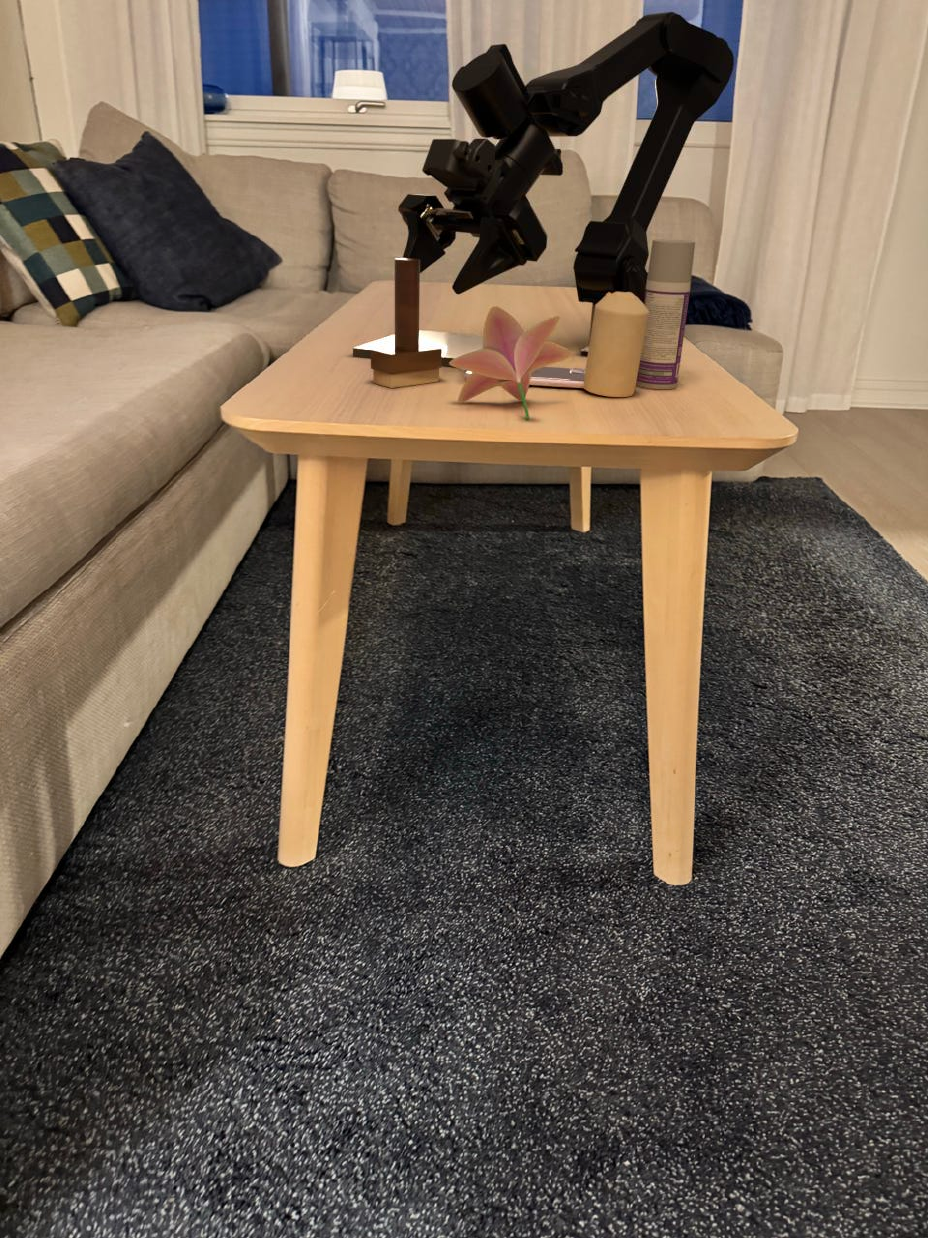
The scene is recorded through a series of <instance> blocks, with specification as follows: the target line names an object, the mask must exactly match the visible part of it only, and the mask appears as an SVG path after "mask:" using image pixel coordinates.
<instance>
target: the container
mask: <svg viewBox="0 0 928 1238" xmlns="http://www.w3.org/2000/svg"><path fill="white" fill-rule="evenodd" d="M650 248H651V249H650V254H649V264H648V270H647V273H648V276H647V283H646V290H645V299H644V305H645V306H646V308H647V309H648V311H649V314H648V319H647V325H646V331H645V336H644V342H643V347H642V353H641V358H640V364H639V369H638V375H637V381H636V386H637V387H640V388H644V389H649V390H650V389H651V390H673V389H676V388H677V387H678V381H679V374H680V367H681V360H682V353H683V344H684V337H685V330H686V322H687V315H688V308H689V300H690V293H691V285H692V284H691V283H692V276H693V265H694V258H695V249H696V242H695V241H693V240H683V239H662V238H660V239H659V238H657V239H652V241H651V247H650Z"/></svg>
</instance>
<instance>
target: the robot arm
mask: <svg viewBox="0 0 928 1238" xmlns="http://www.w3.org/2000/svg"><path fill="white" fill-rule="evenodd" d="M734 66H735V56H734V53H733V50H732V49H731V48H730V47H729V44H728V42H727V41H726V40H725V38H723V37H721V36H717V35H716V34H715V33H713V32H711V31H708V30H707V29H705V28H702V27H699V26H697V25H695V24H693V23H690V22H689V21H688V20H687V19H686V18H684V17H683V15H681V14H678V13H676V12H674V11H667V12H666V11H665V12H658V13H650V14H649V13H647V14H645V15H643V16H642V17H641V18H638V19H637V21H636V22H635V24H634V25H632V26H631V27H630V28H628V29H627V30H625V31H624V32H622V33H621V34H620V35H618V36H616V37H615V38H614V39H613V40H611V41H609V42H608V43H607V44H606V45H603V47H601V48H600V49H598V50H597V51H595V52H594V53H593V54H591V55H590V56H588V57H587V58H585V59H584V60H583V61H580V62H579V63H578V64H576V65H573V66H570V67H566V68H562V69H559V70H554V71H551V72H549V73H545V74H542V75H540V76H537V77H535V78H533V79H531V80H529V81H528V82H527V84H525V83H524V81H523V79H522V77H521V75H520V72H519V71H518V68H517V67H516V65H515V62H514V59H513V56H512V54H511V52H510V50H509V47H508V46H507V44H505V43H498V44H491V45H490V46H489V48H487V50H486V51H485V52H483V53H482V54H479V55H478V56H476V57H474V58H473V59H471V60H470V61H469V62H468V63H467V64H465V65H463V66H461V67H460V68H459V69H458V70H457V71H456V73H455V74H454V76H453V79H452V81H451V87H452V90H453V91H454V93H455V95H456V97H457V98H458V100H459V102H460V103H461V105H462V107H463V109H464V110H465V112H466V115H467V116H468V117H469V120H470V122H471V123H472V125H473V126H474V128H475V130H476V131H477V133H478V135H479V136H480V137H481V138H473V139H472V141H471V142H469V141H467V140H459V139H456V138H433V139H432V140H431V143H430V146H429V148H428V152H427V155H426V158H425V160H424V162H423V166H422V169H421V171H422V173H423V174H424V175H426V176H427V177H432V178H433V179H435V180H436V181H437V182H439V183H440V184H441V185H442V186H444V187H445V188H446V189H445V191H444V192H443V194H444V196H445V198H446V199H447V201H448V202H449V203H452V205H453V207H452V208H445V207H444V206H443V204H442V202H441V201H440V199H439V198H438V196H437V195H434V194H417V193H416V194H415V193H408V194H406V196H405V197H404V198H403V200H402V201H401V202H400V204H399V205H398V209H397V210H398V213H399V214H400V215H401V217H402V221H403V222H404V224H405V225H406V226H407V232H408V233H407V239H406V244H405V248H404V251H403V255H402V258H414V259H420V274H422V273H423V272H424V271H426V270H427V269H428V268H429V267H431V266H432V265H433V264H435V263H436V262H438V261H439V260H440V259H441V258H443V257H444V256H445V255H446V253H447V252H446V251H445V250H446V249H447V248H449V247H451V245H453V243H454V241H455V240H456V238H457V233H464V234H470V235H471V237H473V238H478V241H477V243H476V244H475V247H474V248H473V249H472V251H471V253H470V254H469V255H468V257H467V259H466V260H465V262H464V264H463V266H462V267H461V269H460V271H459V272H458V274H457V276H456V278H455V280H454V282H453V284H452V286H451V289H452V290H453V292H454V293H455V294H456V295H462V294H463V293H465V292H467V291H469V290H471V289H473V288H476V287H477V286H479V285H481V284H483V283H485V282H486V281H487V282H488V280H491V279H493V278H494V277H497V276H500V275H501V274H504V273H506V272H508V271H510V270H512V269H515V268H517V267H519V266H520V267H522V266H525V265H526V264H527V263H528V262H536V263H537V262H538V260H539V259H540V258H541V256H542V255H543V253H545V251H546V250H547V247H548V246H547V245H548V233H547V232H546V230H545V227H544V226H543V224H542V222H541V221H540V219H539V217H538V215H537V214H536V212H535V211H534V209H533V207H532V205H531V203H530V201H529V198H528V197H527V195H528V193H529V192H530V190H531V189H532V188H533V186H534V185H535V183H536V182H537V180H538V179H539V178H540V176H548V177H549V176H552V177H555V176H556V177H561V176H562V175H563V173H564V164H563V161H562V149H561V148H556V147H555V145H554V143H553V141H552V139H551V137H552V138H553V137H554V138H560V137H566V138H567V137H569V138H571V137H573V138H574V137H579V136H580V135H583V134H584V133H585V132H586V131H587V129H588V128H589V127H590V126H591V125H592V124H593V123H594V122H595V121H596V120H597V118H598V117H599V116H600V115H601V112H602V110H603V105H604V102H606V100H607V99H608V98H609V97H610V96H612V95H613V94H615V93H616V92H617V91H618V90H620V89H621V88H623V87H624V86H625V85H627V84H628V83H629V82H631V81H632V80H634V79H635V78H636V77H637V76H640V74H642V73H643V72H645V71H646V70H648V71H649V72H650V73H651V74H652V75H654V76H655V77H656V78H655V81H654V87H655V95H656V102H657V105H656V109H655V111H654V113H653V116H652V119H651V120H650V123H649V124H648V127H647V128H646V129H647V130H646V132H645V134H644V136H643V139H642V141H641V143H640V145H639V147H638V150H637V152H636V154H635V157H634V159H633V161H632V164H631V166H630V168H629V170H628V173H627V175H626V178H625V179H624V182H623V184H622V187H621V189H620V191H619V193H618V196H617V198H616V201H615V203H614V205H613V207H612V210H611V212H610V214H609V215H608V216H607V217H606V218H604V219H603V221H599V220H590V221H589V222H588V223H587V224H586V226H585V228H584V232H583V234H582V237H581V240H580V242H579V244H578V245H577V246H576V248H575V249H574V252H575V253H576V256H575V257H574V261H573V274H574V279H575V286H576V293H577V299H578V302H579V303H590V304H591V312H590V323H589V335H588V345H587V346H585V347H584V348H583V349H581V350H580V355H583V356H588V350H589V344H590V337H591V331H592V324H593V317H594V311H595V305H596V304H597V303H598V302H599V301H600V300H602V299H603V298H604V297H605V296H606V295H607V294H608V292H610V293H611V294H613V293H614V292H631V293H633V294H634V295H635V296H636V297H638V298H639V300H640V301H641V302H642V303H643V304H644V299H645V290H646V283H647V276H648V270H647V268H646V266H647V263H648V260H649V258H650V253H649V252H650V251H649V245H648V243H649V242H648V235H647V233H648V228H649V226H650V224H651V221H652V220H653V217H654V215H655V212H656V211H657V208H658V206H659V204H660V201H661V199H662V196H663V194H664V192H665V190H666V187H667V185H668V183H669V181H670V178H671V176H672V174H673V172H674V170H675V167H676V165H677V162H678V161H679V158H680V156H681V153H682V151H683V149H684V146H685V144H686V142H687V140H688V137H689V135H690V133H691V130H692V128H693V126H694V124H695V123H696V121H698V120H699V119H700V118H701V117H702V116H703V115H705V114H706V112H708V111H709V110H711V108H713V107H714V105H716V104H717V102H718V100H719V99H720V97H721V96H722V94H723V92H724V90H725V89H726V87H727V86H728V83H729V81H730V80H731V77H732V74H733V71H734ZM490 138H492V139H494V140H497V142H496V143H495V144H494V143H493V142H492V141H491V140H490Z"/></svg>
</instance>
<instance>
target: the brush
mask: <svg viewBox="0 0 928 1238" xmlns="http://www.w3.org/2000/svg"><path fill="white" fill-rule="evenodd" d="M420 283H421V273H420V259H414V258H403V257H396V258H394V335H395V347H391V348H382V349H373V350H371V358H370V369H371V370H373V371H372V372H373V374H372V375H373V380H372V381H373V384H375V385H378V386H382V387H385V388H390V389H395V388H396V389H397V388H402V387H409V386H416V385H424V384H431V383H437V382H439V381H440V369H441V368H443V366H442V349H440V348H436V347H431V346H427V345H423V344H419V330H420V300H421V299H420V295H421V294H420V293H421V290H420V287H421V284H420Z"/></svg>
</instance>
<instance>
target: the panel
mask: <svg viewBox="0 0 928 1238" xmlns="http://www.w3.org/2000/svg"><path fill="white" fill-rule="evenodd" d="M482 338H483V335H478V334H469V333H468V334H467V333H457V332H446V331H434V330H424V329H419V344H423V345H427V346H431V347H436V348H440V349H442V367H451V368H455V367H454V366H451V365H450V364H449V362H450V361H451V360H453V359H455V358H457V357H460V356H462V355H464V354H467V353H470V352H473V351H477V350H482V349H483V342H482ZM391 347H395V334H391V335H389V336H386V337H385V336H384V337H382V338H380V339H376V340H373V341H370V342H367V343H364V344H360V345H358V346H355V347H352V357H357V358H366V359H371V350H373V349H382V348H391Z"/></svg>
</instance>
